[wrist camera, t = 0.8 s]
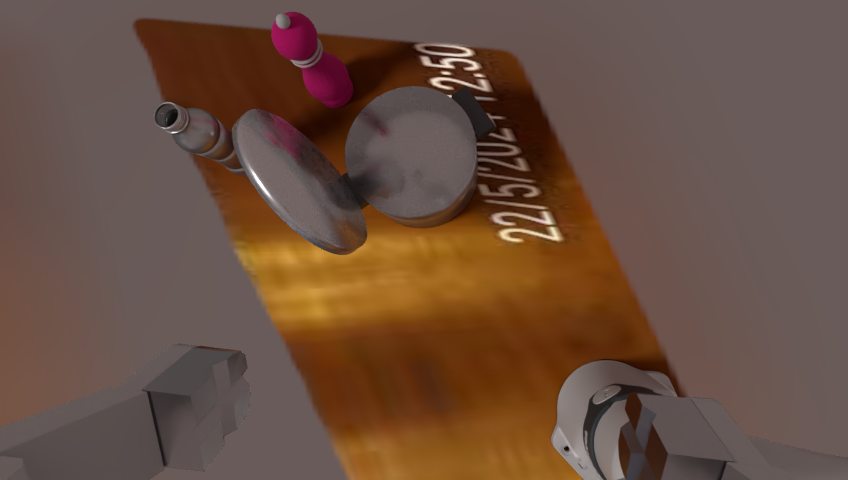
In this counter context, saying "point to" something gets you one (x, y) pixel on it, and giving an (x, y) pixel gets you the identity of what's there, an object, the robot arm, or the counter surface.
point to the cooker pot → (416, 154)
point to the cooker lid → (299, 182)
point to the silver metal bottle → (199, 134)
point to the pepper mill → (312, 59)
